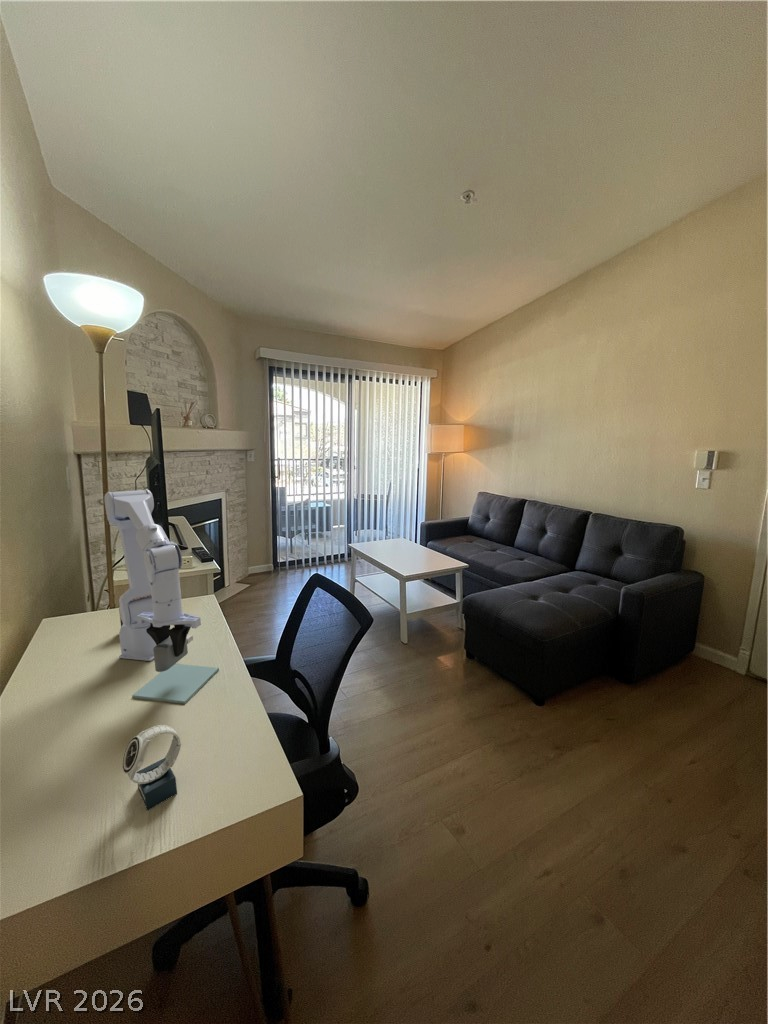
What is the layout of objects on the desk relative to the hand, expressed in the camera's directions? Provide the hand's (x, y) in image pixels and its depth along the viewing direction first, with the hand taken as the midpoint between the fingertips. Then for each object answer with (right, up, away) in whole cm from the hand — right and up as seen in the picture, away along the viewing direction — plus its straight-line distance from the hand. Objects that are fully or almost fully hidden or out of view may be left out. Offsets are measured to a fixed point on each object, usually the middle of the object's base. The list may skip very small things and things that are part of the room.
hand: (172, 653), depth 90 cm
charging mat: (0, -8, +2) cm, 8 cm away
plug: (0, -2, +1) cm, 2 cm away
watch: (+12, -13, -26) cm, 32 cm away
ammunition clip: (-25, -3, +29) cm, 39 cm away
